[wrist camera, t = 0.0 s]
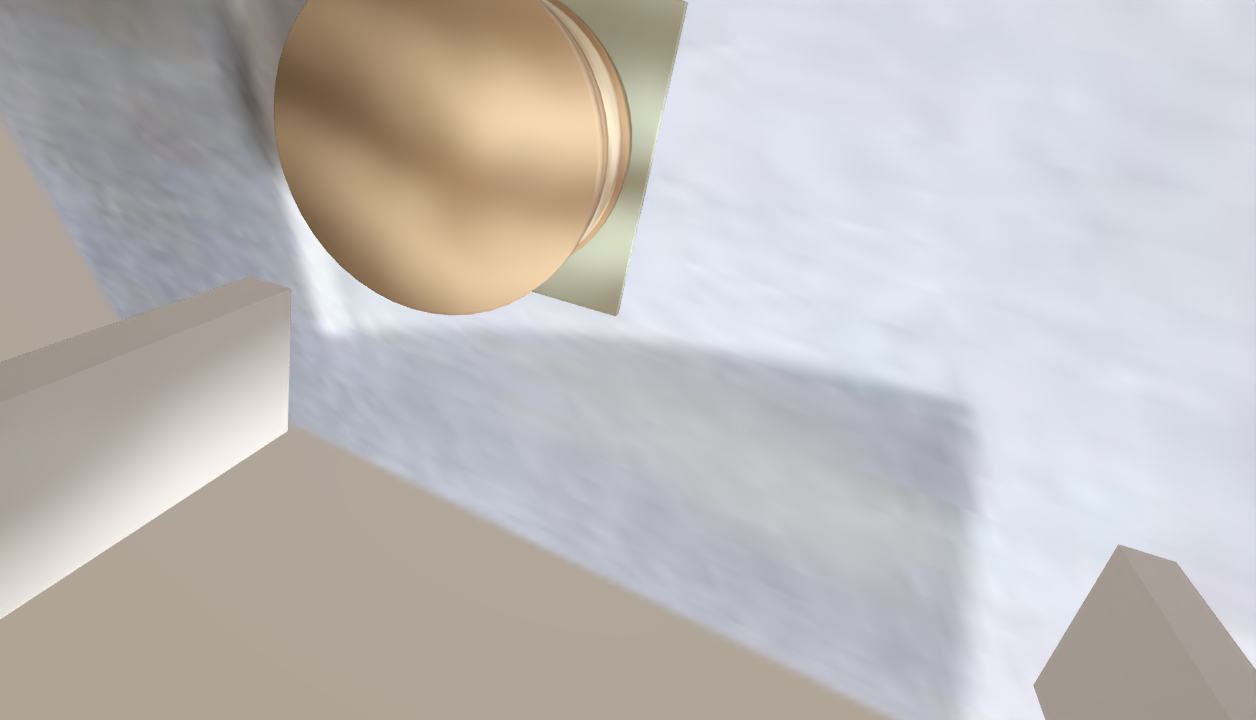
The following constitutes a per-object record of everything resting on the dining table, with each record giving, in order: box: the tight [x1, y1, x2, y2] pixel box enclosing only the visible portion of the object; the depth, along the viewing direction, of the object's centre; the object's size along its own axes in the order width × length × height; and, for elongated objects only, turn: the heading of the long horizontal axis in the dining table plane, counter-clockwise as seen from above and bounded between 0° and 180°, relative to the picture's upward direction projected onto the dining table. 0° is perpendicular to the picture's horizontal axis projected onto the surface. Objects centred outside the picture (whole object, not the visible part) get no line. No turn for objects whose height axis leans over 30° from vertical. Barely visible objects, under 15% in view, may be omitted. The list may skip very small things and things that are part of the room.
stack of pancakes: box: [274, 0, 688, 316], centre depth 35 cm, size 16×16×9 cm
